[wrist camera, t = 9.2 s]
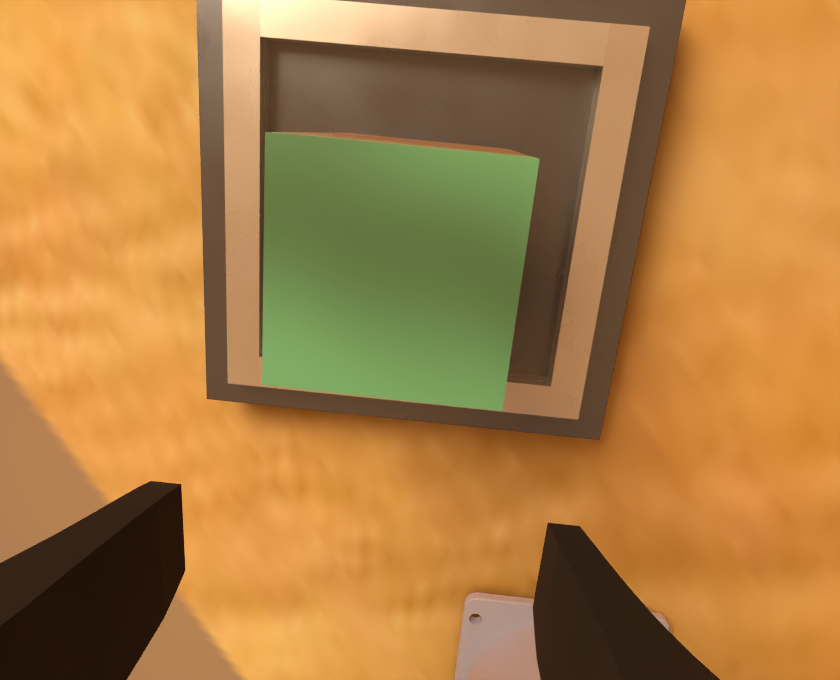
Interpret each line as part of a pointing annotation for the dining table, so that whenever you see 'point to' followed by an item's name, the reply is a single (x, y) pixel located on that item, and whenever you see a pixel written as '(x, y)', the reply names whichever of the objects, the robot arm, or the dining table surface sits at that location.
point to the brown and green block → (393, 266)
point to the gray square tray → (454, 123)
